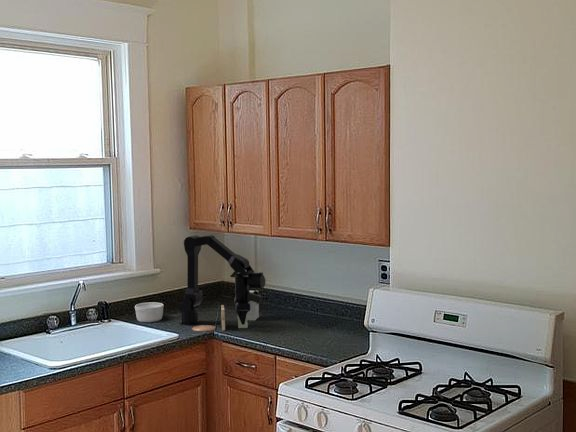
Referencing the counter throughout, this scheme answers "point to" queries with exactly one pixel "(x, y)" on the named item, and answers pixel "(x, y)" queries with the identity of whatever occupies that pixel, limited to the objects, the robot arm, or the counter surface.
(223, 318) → the divider board
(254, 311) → the supplement box
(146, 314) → the ramekin
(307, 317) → the counter surface
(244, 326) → the sage block
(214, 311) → the counter surface
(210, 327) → the disc
